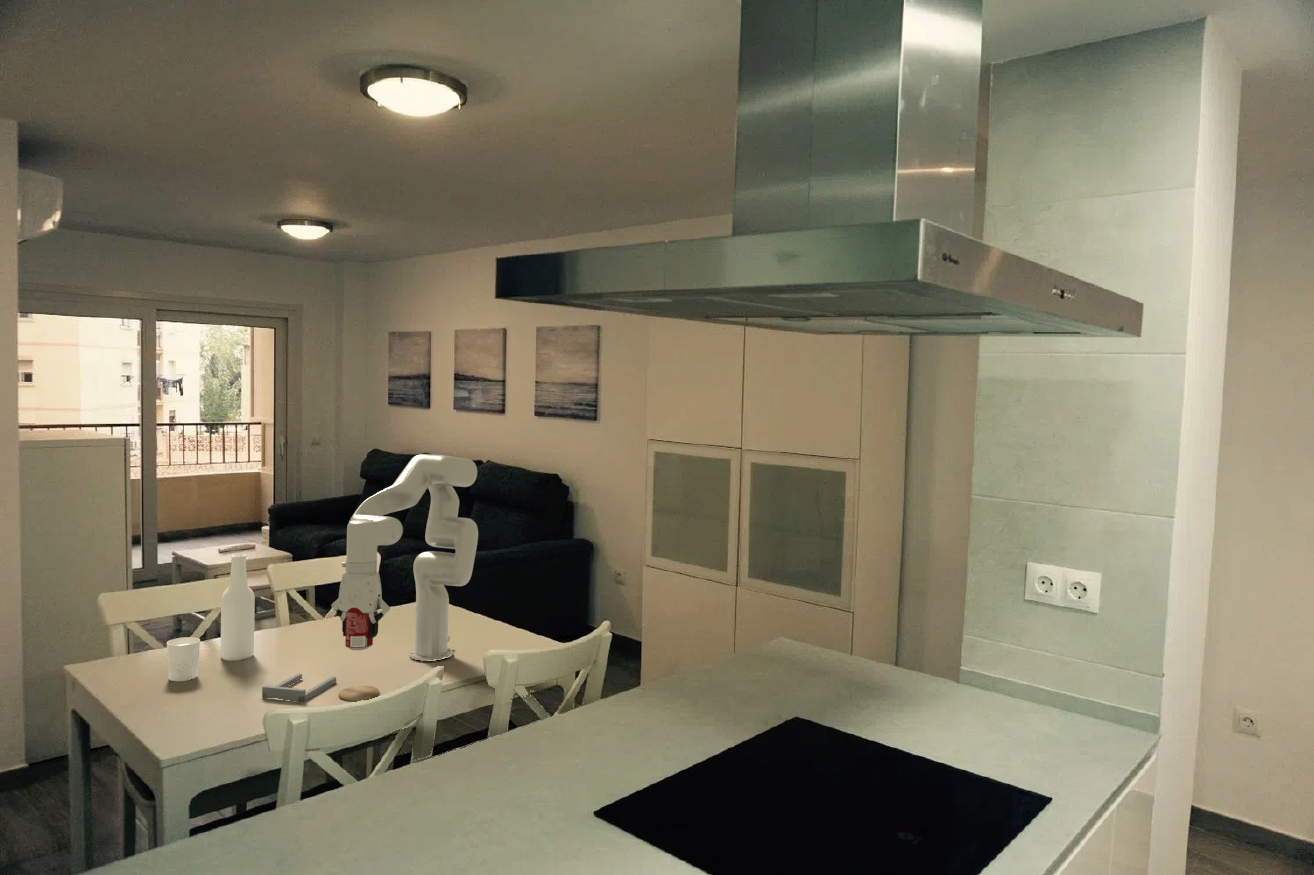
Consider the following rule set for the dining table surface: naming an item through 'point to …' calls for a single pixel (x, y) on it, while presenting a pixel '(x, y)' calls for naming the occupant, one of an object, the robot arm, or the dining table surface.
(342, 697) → the coaster
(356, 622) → the soda can
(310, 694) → the u-shaped frame
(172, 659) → the white cup
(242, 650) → the alcohol
